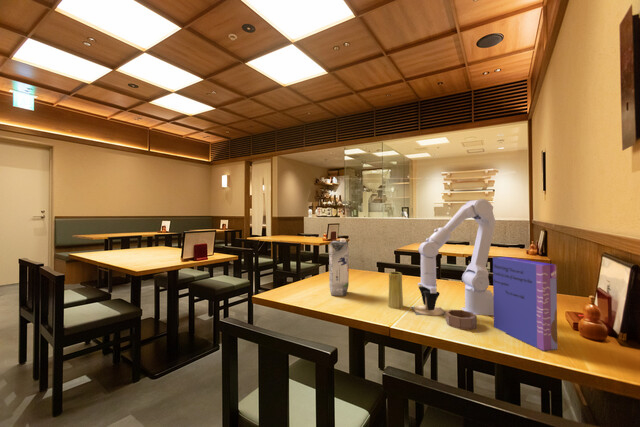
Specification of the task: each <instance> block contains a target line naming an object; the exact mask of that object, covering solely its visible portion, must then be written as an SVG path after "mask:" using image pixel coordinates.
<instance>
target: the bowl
mask: <svg viewBox="0 0 640 427" xmlns="http://www.w3.org/2000/svg"><path fill="white" fill-rule="evenodd" d="M445 312H446V316H445V321H446V324H447V326H449V327H451V328H454V329H458V330H465V331H470V330H475V329H476V327H477V326H478V320H477V318H478V315H475V314H473V313H472V312H468V311H464V310H463V309H449V310H446V311H445Z"/></svg>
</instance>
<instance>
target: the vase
mask: <svg viewBox="0 0 640 427" xmlns="http://www.w3.org/2000/svg"><path fill="white" fill-rule="evenodd" d="M403 296H404V295H403V273H402V272H399V271H389V272H388V304H387V306H388V308H390V309H394V310H399V309H400V310H401V309H403V308H404V297H403Z"/></svg>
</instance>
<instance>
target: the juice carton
mask: <svg viewBox="0 0 640 427" xmlns="http://www.w3.org/2000/svg"><path fill="white" fill-rule="evenodd" d="M328 252H329V257H328V258H329V259H328V262H329V264H328V266H329V267H328V269H329V270H328V272H329V275H328V276H329V277H328V279H329V292H330V295H331V296H335V297H337V296H340V297H346V296H347V293H348V289H349V286H350V285H349V283H350V282H349V277H350V276H349V274H350V273H349V271H350V270H349V268H350V267H349V266H350V265H349V244H348V240H347V239H345V238H340V239H339V240H332V241H331V242H329V251H328Z"/></svg>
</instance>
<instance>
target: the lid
mask: <svg viewBox="0 0 640 427" xmlns="http://www.w3.org/2000/svg"><path fill="white" fill-rule="evenodd" d="M413 307H414V311H415V312H417V313H420V314H423V315H422V316H433V317H435V316H436V317H437V316H438V315H442V314H444V311H445V310H444V309H443V308H442V307H441V308H442V309H441V308H439V306H435V308H434V310H428V307H427V301H426V297H425V305H424V304H423V305H416V306H413ZM414 311H413V312H414Z"/></svg>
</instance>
